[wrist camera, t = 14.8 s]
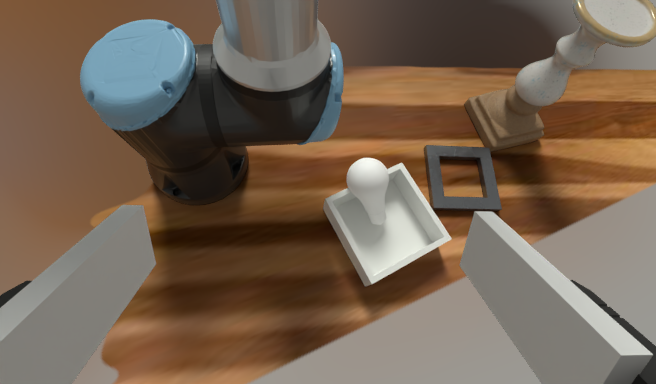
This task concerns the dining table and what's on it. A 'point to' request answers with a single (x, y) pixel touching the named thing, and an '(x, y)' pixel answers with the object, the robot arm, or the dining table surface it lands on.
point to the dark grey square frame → (485, 173)
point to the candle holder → (558, 70)
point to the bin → (386, 227)
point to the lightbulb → (369, 187)
